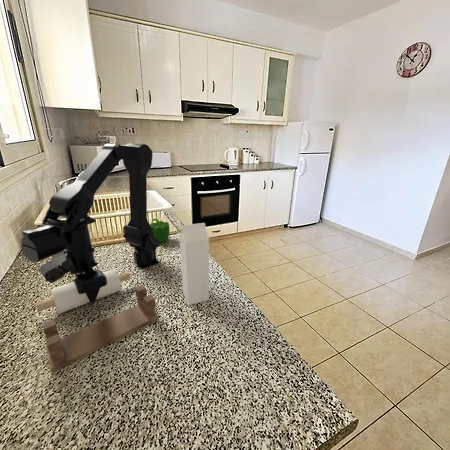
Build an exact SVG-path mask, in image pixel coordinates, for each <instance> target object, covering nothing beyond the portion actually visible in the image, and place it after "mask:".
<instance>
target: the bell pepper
mask: <svg viewBox="0 0 450 450" xmlns="http://www.w3.org/2000/svg"><path fill="white" fill-rule="evenodd" d="M151 220H152V222H150V223H149V224H150V226H151V228H152V233H153V236H154V237H155V238H156V239H158V240H159V241H160V242H159V244H164V243H166V242H168V240H169V237H170V232H171V231H170V223H169V222H168V221H163V220H159V219H157V218H155V217H154V218H152V219H151ZM155 221H156V222H155Z"/></svg>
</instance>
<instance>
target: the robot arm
mask: <svg viewBox="0 0 450 450" xmlns="http://www.w3.org/2000/svg"><path fill="white" fill-rule="evenodd" d="M153 156H154V155H153V150H152V148H150V146H149V145H148V144H145V143H134V142H133V143H130V142H129V143H126V144H125V145H121V144H119V143H105V144H104V145H102V148H101V150H100V151H99V153H98V154H97V155H96V156H95V157H94V159H93V160H92V161H91V162H90V163H89V164H88V165H87V167H86V168H85V169H84V170H83V172H81V174H80V175H79V176H78V177H77V179H76V180H75V181H73V182H72V183H70V184H68V185H66V186H64V187H62V188H61V189H60V190H59V191H57V192H56V193H55V194H53V195H52V196H51V198H50V199H49V202H48V204H49V207H48V210H47V211H46V214H45V215H44V218H43V220H42V222H41V224H42V226H41V227H37V228H34V229H28V230H23V231H22V238H21V240H20V243H21V244H20V245H19V246H20V249H21V251H22V253H23V254H24V256H25V258H26V259H27V260H28V261H29V262H31V263H34V264H36V263H39V262H41V261H44V260H45V259H47V258H50V257H51V256H53V255H55V254H58V253H60V252H62V251H63V253H64V254H62V255H60V256H58V257H55V258H52V259H50V260H48V261H47V262H45V263H43V264H42V265H40V267H39V272H40V274H41V275H42V277H43V278H44V280H45V281H46V282H48V283H49V284H53V283H55V282H57V281H59V280H60V279H62V278H64V277H65V275H67V274H68V273H70V275H76V277H75V278H74V279H73V282H74V283H75V287H76V289H77V291H78V294H84V293H86V295H87V297H88V299H89V301H90V302H89V303H91V304H92V303H95V302H96V301H97V300H96V298H97V295H98V293H99V290H100V288H101V287H103V286H106V285H107V279H106V276H105V275H104V273H103V271H102V270H101V269H94V268H95V267H98V262H97V260H96V259H95V255H94V253H95V247H94V246H93V244H92V239H91V234H90V232H89V231H90V228H89V225H92V224H93V223H95V222H97V221H96V219H95V218H93V217H90V215H88V214H89V213H90V211H91V209H92V207H93V205H94V202H95V195H96V193H97V191H98V190H99V189H100V187H101V186H102V185H103V183H104V182H105V181H106V179H107V178H108V177H109V175H111V173H112V171H113V170H114V169H115V168H116V167H117V166H118V164H119V162H120V161H121V160H122V162H123V165H124V167H125V169H126V171H127V172H128V179H129V210H130V214H129V215H130V220H129V222H128V223H127V224H126V225H123V238H124V240H125V242H126V243H127V244H129V247H131V248H133V250H134V251H133V253H132V254H133V263H134V264H135V265H136V266H137V267H138V268H139V269H141V270H142V269H145V268H149V267H151V266H154V265H157V264H159V263H160V261H159V260H158V259H157V248H159V247H160V243H159V242H160V241H159V240H158V239H156V238H155V237H154V236H153V233H152V228H151V226H150V224H151V223H149V221H148V209H147V207H148V206H147V204H148V203H147V201H148V200H147V199H148V198H147V192H148V191H147V176H148V175H147V174H148V173H149V171H150V169H151V168H152V165H153V163H152V162H153ZM59 217H60V218H62V219H59ZM63 218H64V219H65V220H66V221H63V220H64V219H63ZM93 267H94V268H93Z"/></svg>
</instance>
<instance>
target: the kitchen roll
mask: <svg viewBox="0 0 450 450" xmlns="http://www.w3.org/2000/svg"><path fill="white" fill-rule="evenodd" d="M102 272H103V271H102ZM103 273H104V275H105V276H106V279H107V285H106V286H103V287H101V288H100V290H99V293H98V295H97V298H96V301H97V300H99V299H102V298H104V297H107V296H110V295H112V294H114V293H117V292H119V291H122V284H121V283H123V282H125V281H128V280H131V278H132V276H131V274H130V272H129V271H128V272H125V273H122V274H118V272H117V270H116V268H115V269H114V268H113V269H110V270H107V271H104V272H103ZM51 294H52V296H53V297H52V298H49V299H46V300H44V301H41V302H37V303H36V304H35V305H36V308H37V311H38V313H40V312H42V311H44V310H48V309H50V308H53V307H55V308H56V310H57V313H58V315H60V314H62V313H65V312H67V311H70V310H72V309H75V308H78V307H80V306H84V305H86V304H89V303H90V301H89V299H88V297H87V295H86V293H84V294H78V291H77V289H76V287H75V283H74V281H73V282H70V283H66V284H63V285H61V286H57V287H54V288H51Z"/></svg>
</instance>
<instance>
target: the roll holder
mask: <svg viewBox="0 0 450 450" xmlns="http://www.w3.org/2000/svg"><path fill="white" fill-rule="evenodd" d="M134 291H135V297H136V303H137V304H136V305H135V306H131V307H129V308H128V309H125V310H123V311H120V312H118V313H116V314H114V315H111V316H109V317H107V318H104V319H103V320H100V321H98V322H95V323H94V324H91V325H89V326H87V327H84V328H81V329H80V330H77V331H75V332H73V333H70V334H68V335H66V336H63V337H60V334H59V331H58V327H57V323H56V321H55V319H54V318H53V319H50V320H48V321H46V322H44V323H41V325H42V328H43V333H44V335H45V343H46V346H45V347H46V352H47V356H48V362H49V366H50V367H49V368H50V371H51V374H52V373H54V372H56V371H59V370H60V369H62V368H64V367H66V366H68V365H70V364H73V363H74V362H76V361H78V360H80V359H82V358H84V357H86V356H88V355H90V354H92V353H94V352H96V351H98V350H100V349H102V348H104V347H106V346H108V345H110V344H112V343H114V342H117V341H119V340H120V339H122V338H124V337H126V336H128V335H130V334H132V333H134V332H136V331H137V330H140V329H142V328H144V327H146V326H148V325H150V324H152V323H153V322H155V321H158V320H159V319H160V317H159V315H158V313H157V312H156V298H155V296H153V294H148V295H147V288H146V287H145V286H144V284H140V285H138V286H135V287H134Z"/></svg>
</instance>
